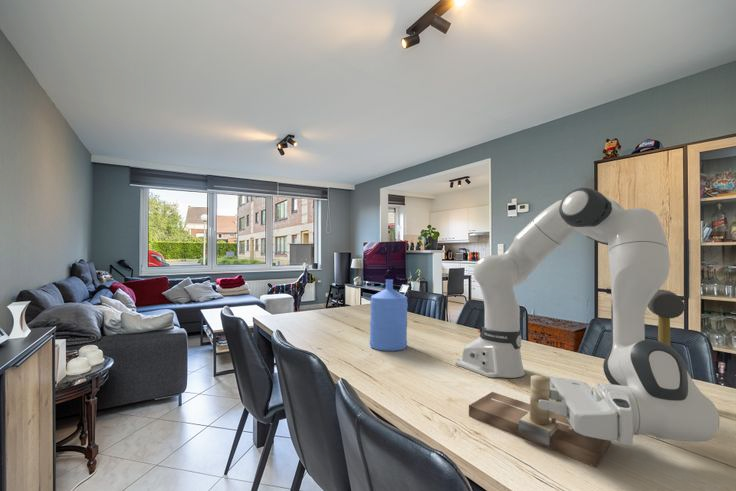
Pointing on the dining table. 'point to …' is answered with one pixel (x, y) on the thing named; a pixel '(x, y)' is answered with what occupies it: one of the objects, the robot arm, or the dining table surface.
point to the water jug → (388, 319)
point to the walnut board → (563, 440)
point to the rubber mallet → (665, 312)
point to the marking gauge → (538, 413)
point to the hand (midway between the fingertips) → (535, 398)
